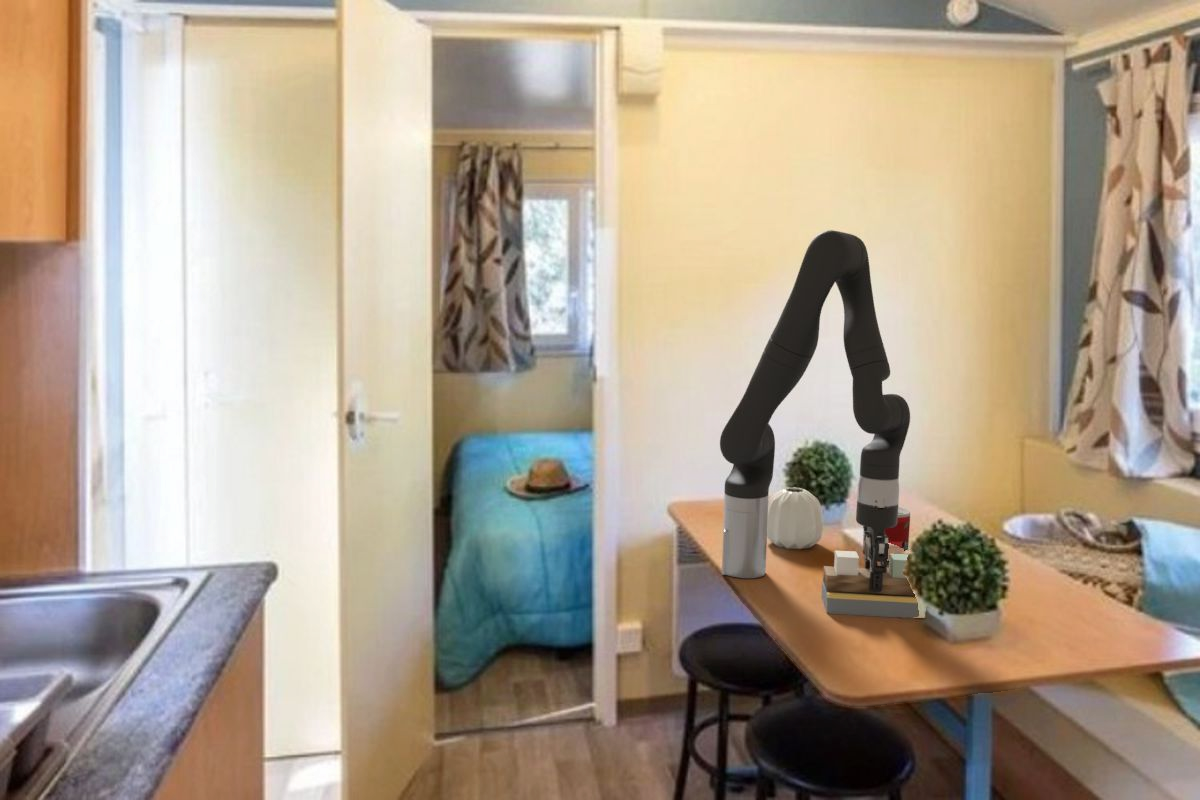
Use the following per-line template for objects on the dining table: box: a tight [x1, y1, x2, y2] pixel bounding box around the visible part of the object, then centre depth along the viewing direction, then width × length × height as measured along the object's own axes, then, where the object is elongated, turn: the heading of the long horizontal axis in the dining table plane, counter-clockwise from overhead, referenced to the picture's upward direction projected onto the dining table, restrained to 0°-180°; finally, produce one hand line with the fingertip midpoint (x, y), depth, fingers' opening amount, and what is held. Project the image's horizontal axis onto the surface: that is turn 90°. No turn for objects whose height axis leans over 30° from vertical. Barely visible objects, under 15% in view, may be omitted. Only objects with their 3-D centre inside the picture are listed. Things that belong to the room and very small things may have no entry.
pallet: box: [822, 565, 915, 596], centre depth 171 cm, size 18×6×3 cm, turn 82°
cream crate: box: [833, 549, 860, 576], centre depth 171 cm, size 4×4×4 cm
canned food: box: [885, 506, 911, 551], centre depth 202 cm, size 8×8×11 cm
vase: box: [767, 486, 824, 550], centre depth 211 cm, size 14×14×13 cm
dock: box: [821, 581, 919, 619], centre depth 171 cm, size 18×9×4 cm, turn 82°
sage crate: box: [888, 553, 909, 578], centre depth 170 cm, size 4×4×4 cm
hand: (872, 585), depth 171 cm, fingers closed on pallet, 5 cm apart
